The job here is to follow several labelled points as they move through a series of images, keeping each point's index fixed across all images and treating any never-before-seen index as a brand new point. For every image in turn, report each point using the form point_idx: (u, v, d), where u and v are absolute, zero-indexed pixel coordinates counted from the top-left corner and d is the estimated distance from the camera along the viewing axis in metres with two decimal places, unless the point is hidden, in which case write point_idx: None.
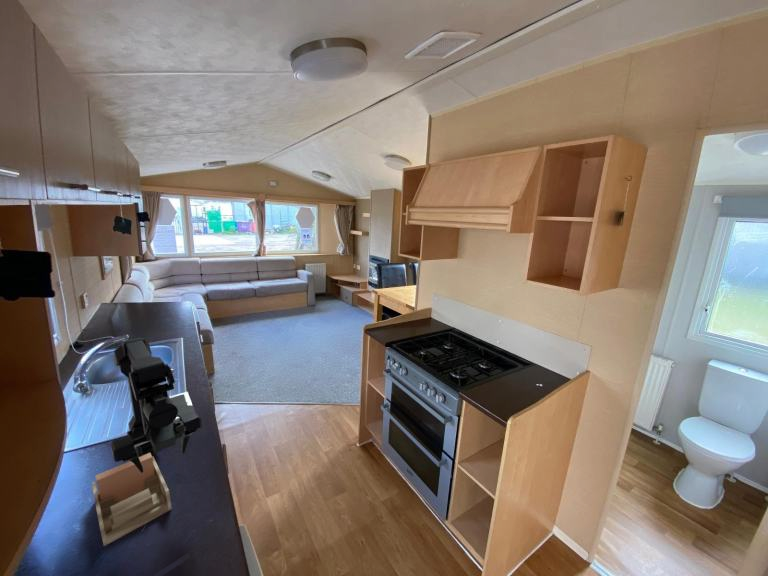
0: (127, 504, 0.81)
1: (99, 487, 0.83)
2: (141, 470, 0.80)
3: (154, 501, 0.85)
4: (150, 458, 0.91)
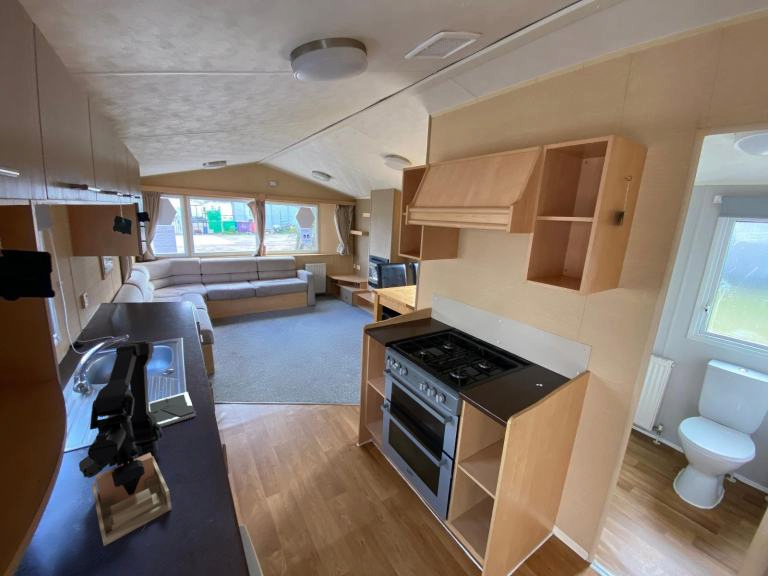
0: (127, 504, 0.81)
1: (99, 487, 0.83)
2: None
3: (154, 501, 0.85)
4: (150, 458, 0.91)
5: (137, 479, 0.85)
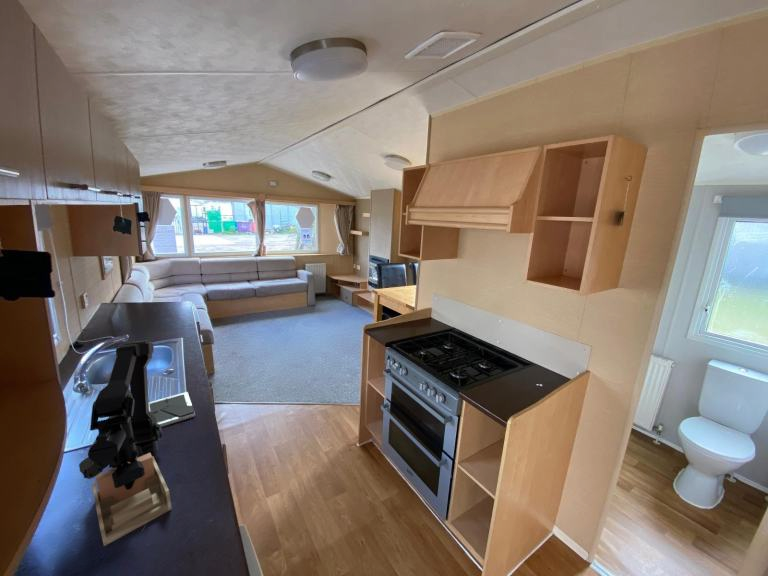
0: (127, 504, 0.81)
1: (99, 487, 0.83)
2: None
3: (154, 501, 0.85)
4: (150, 458, 0.91)
5: None
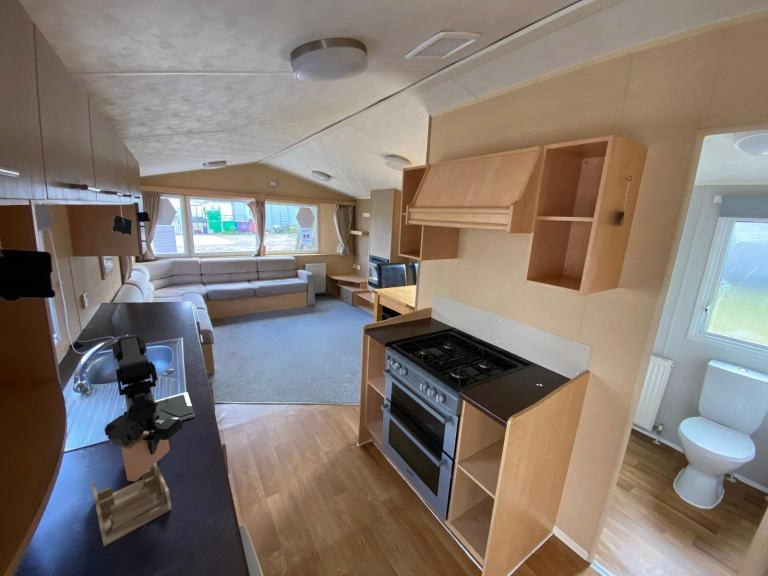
0: (127, 504, 0.81)
1: (132, 455, 0.84)
2: None
3: (154, 501, 0.85)
4: None
5: None
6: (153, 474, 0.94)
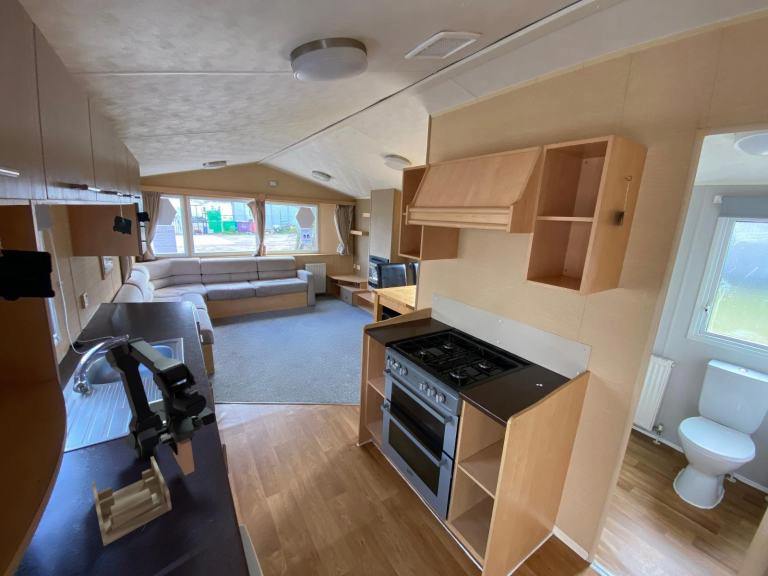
0: (127, 504, 0.81)
1: (191, 447, 0.91)
2: (176, 453, 0.93)
3: (154, 501, 0.85)
4: None
5: None
6: (153, 474, 0.94)
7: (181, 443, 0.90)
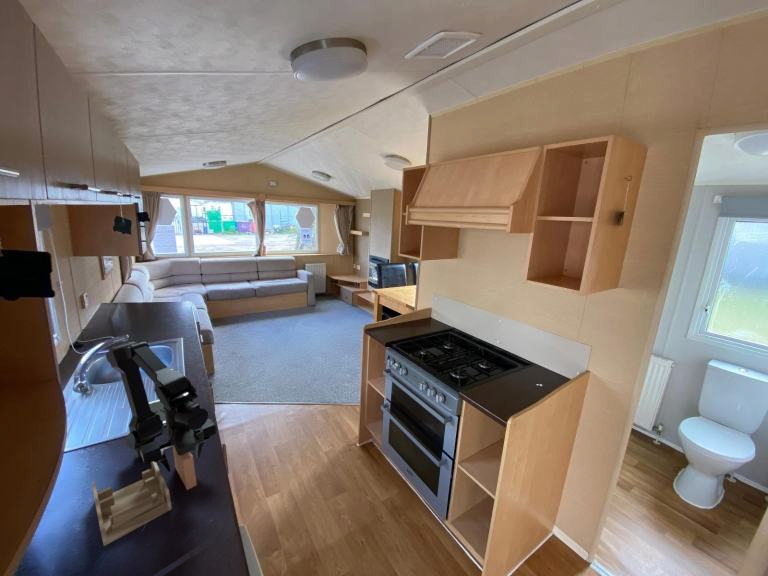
0: (127, 504, 0.81)
1: None
2: (168, 470, 0.93)
3: (154, 501, 0.85)
4: None
5: None
6: (153, 474, 0.94)
7: (183, 458, 0.91)
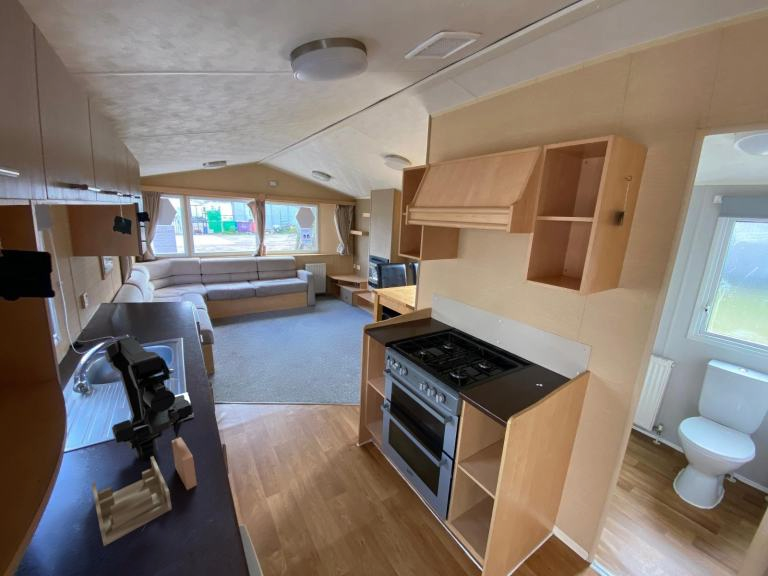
0: (127, 504, 0.81)
1: None
2: (139, 450, 0.91)
3: (154, 501, 0.85)
4: None
5: None
6: (153, 474, 0.94)
7: (183, 458, 0.91)
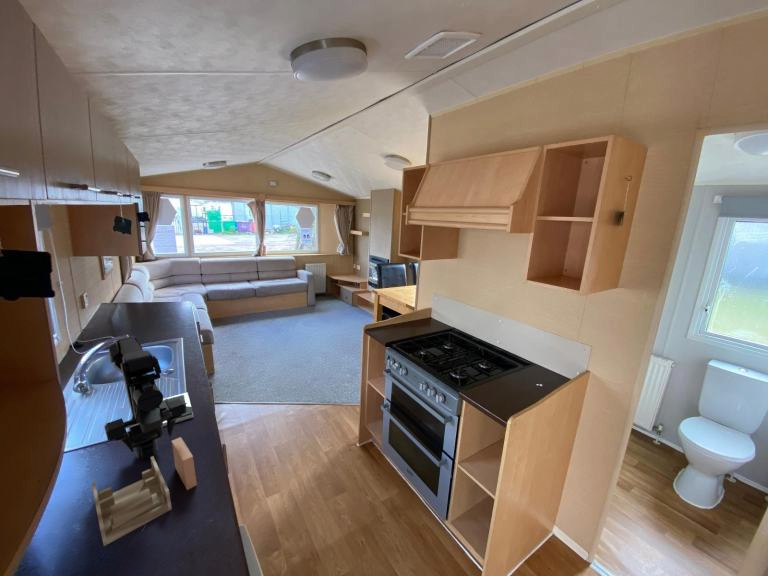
0: (127, 504, 0.81)
1: None
2: (132, 449, 0.91)
3: (154, 501, 0.85)
4: None
5: None
6: (153, 474, 0.94)
7: (183, 458, 0.91)
